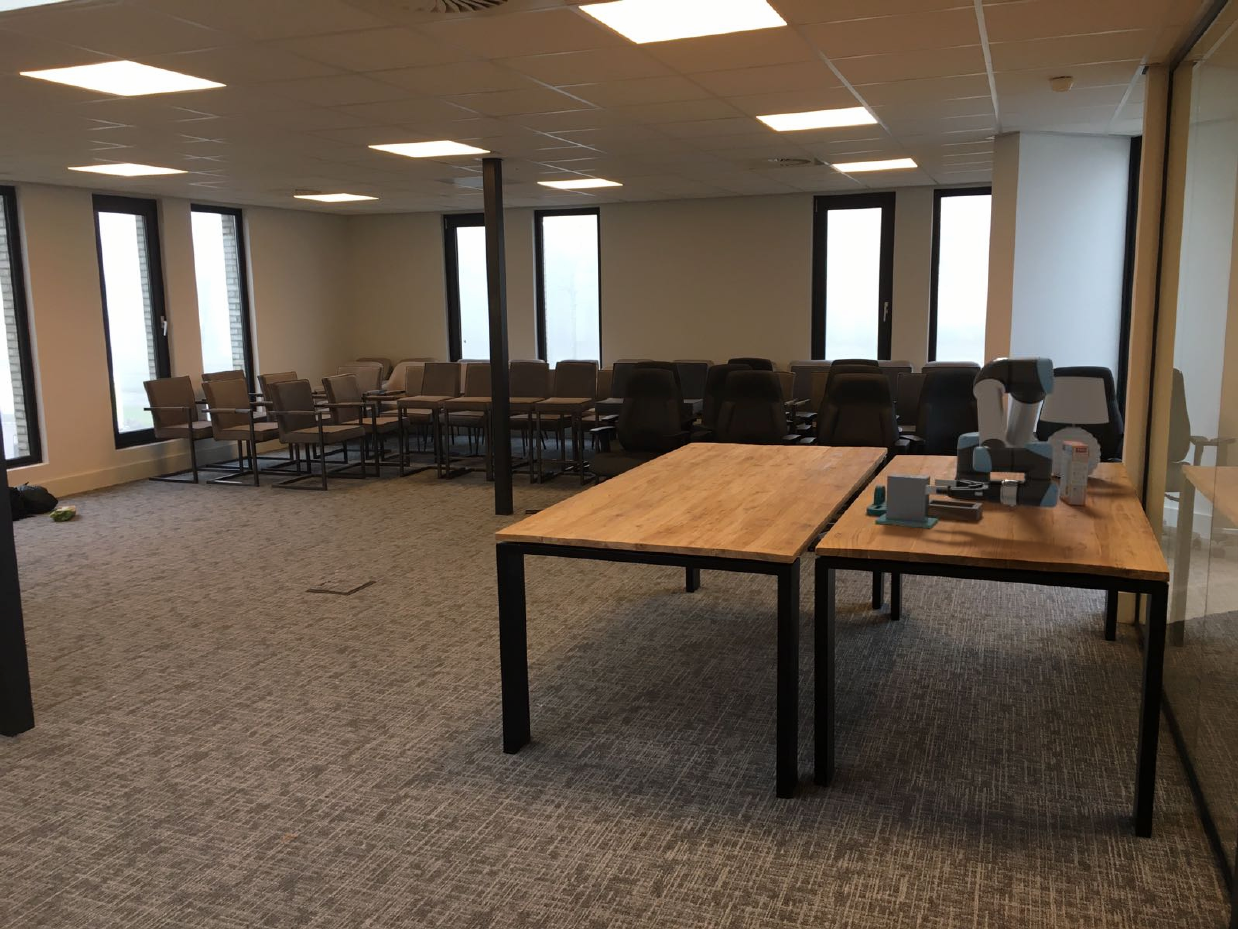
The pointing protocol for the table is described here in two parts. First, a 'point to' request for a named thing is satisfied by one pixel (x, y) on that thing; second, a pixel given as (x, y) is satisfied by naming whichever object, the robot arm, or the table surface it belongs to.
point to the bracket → (878, 502)
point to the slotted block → (955, 509)
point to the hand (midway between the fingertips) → (930, 486)
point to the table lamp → (1075, 415)
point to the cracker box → (1074, 472)
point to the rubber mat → (927, 524)
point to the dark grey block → (907, 498)
